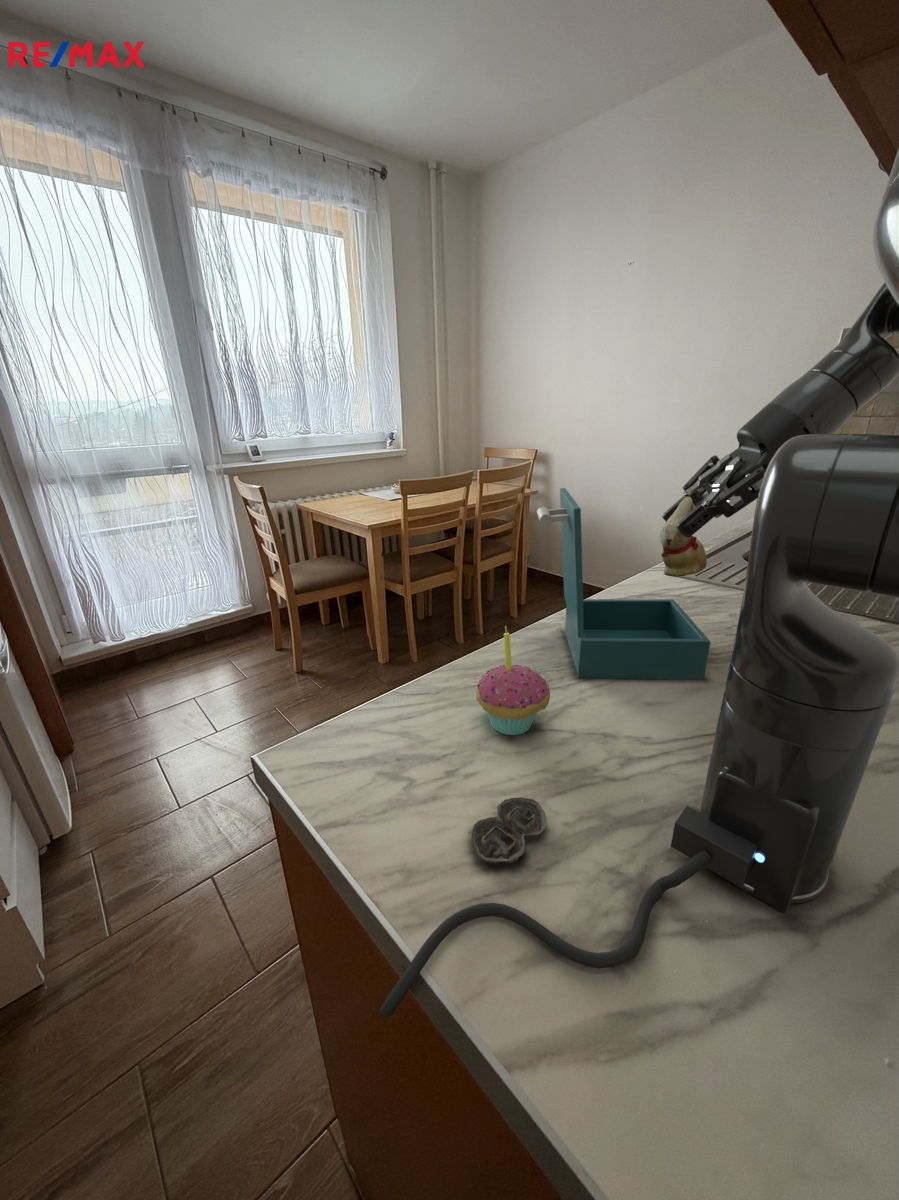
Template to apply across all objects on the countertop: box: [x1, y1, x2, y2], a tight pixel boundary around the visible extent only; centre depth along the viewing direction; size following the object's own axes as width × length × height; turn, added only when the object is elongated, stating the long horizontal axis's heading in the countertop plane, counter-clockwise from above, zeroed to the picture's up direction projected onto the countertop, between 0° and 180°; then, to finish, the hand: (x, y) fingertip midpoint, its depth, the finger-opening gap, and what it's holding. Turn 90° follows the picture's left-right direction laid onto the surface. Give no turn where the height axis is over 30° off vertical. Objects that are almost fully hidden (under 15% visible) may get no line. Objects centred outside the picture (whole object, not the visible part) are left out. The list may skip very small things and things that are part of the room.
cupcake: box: [475, 625, 551, 736], centre depth 56 cm, size 9×8×12 cm
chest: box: [564, 598, 711, 681], centre depth 71 cm, size 17×15×6 cm
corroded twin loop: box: [471, 796, 547, 864], centre depth 43 cm, size 5×8×1 cm, turn 135°
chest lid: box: [536, 487, 584, 638], centre depth 68 cm, size 17×15×5 cm
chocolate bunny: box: [659, 497, 708, 578], centre depth 63 cm, size 6×8×10 cm
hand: (674, 526), depth 62 cm, fingers closed on chocolate bunny, 5 cm apart
